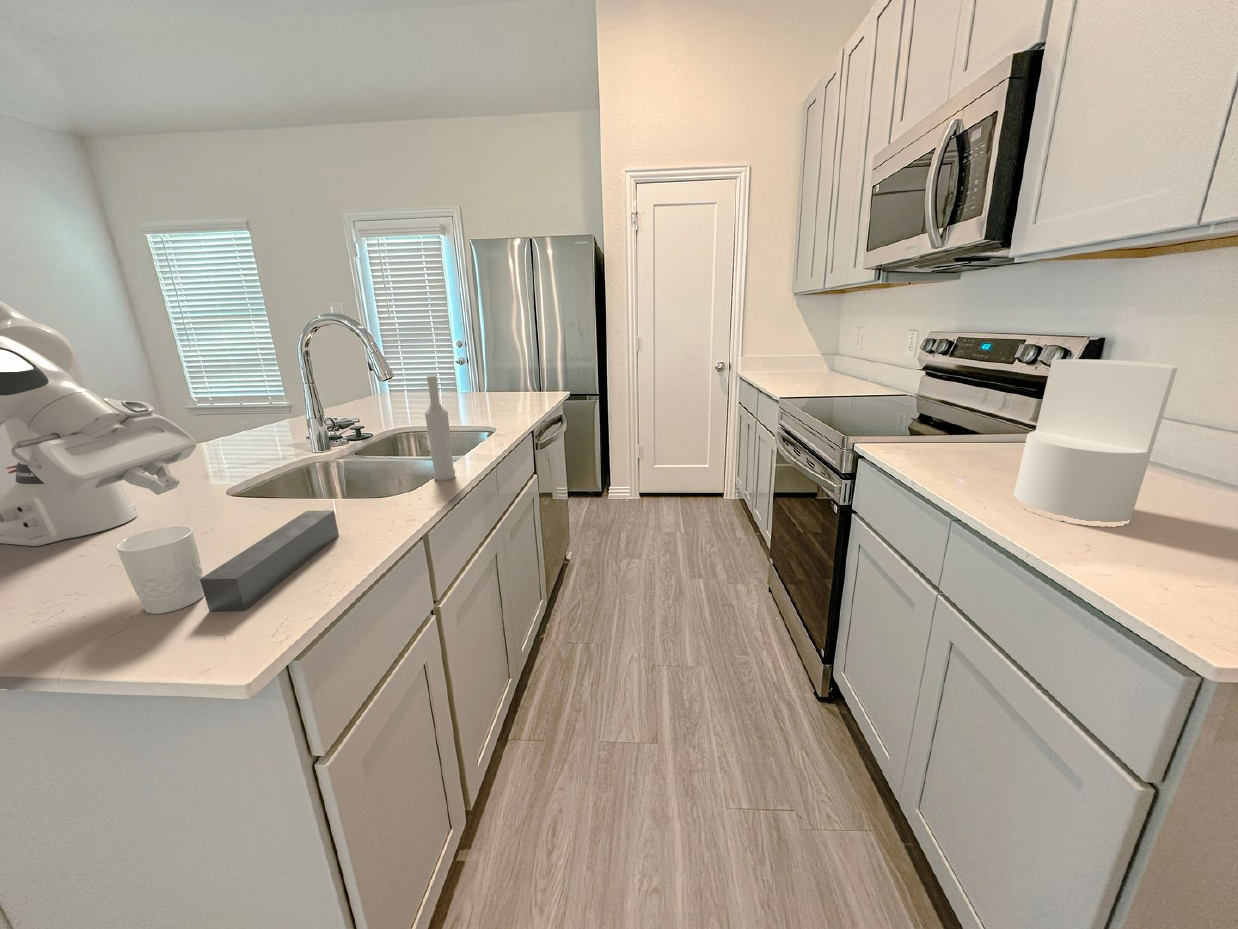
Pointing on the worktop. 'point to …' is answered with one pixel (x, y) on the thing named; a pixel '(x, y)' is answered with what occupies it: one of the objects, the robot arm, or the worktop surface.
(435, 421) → the bottle
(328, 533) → the long dark grey beam
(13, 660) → the worktop surface
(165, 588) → the white cup
